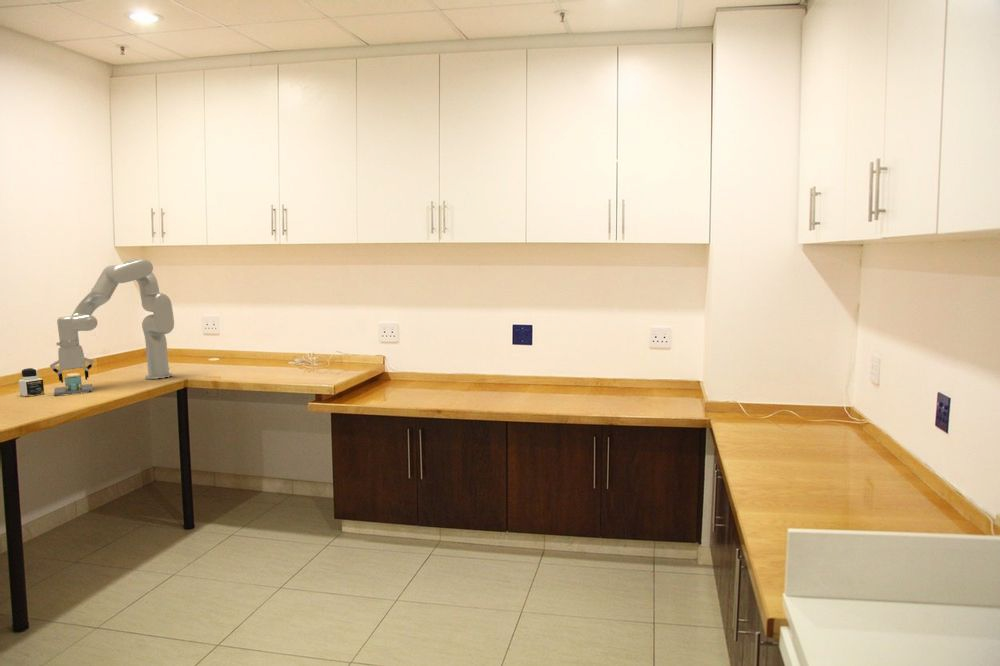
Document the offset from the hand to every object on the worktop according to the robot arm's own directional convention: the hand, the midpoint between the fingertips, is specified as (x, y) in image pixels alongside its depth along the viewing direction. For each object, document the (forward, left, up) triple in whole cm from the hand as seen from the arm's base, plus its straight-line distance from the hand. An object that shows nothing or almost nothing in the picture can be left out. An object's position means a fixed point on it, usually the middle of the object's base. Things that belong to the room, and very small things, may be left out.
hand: (74, 380), depth 333 cm
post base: (0, 0, -5) cm, 5 cm away
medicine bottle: (+4, -16, -5) cm, 18 cm away
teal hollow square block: (+2, 0, -3) cm, 4 cm away
